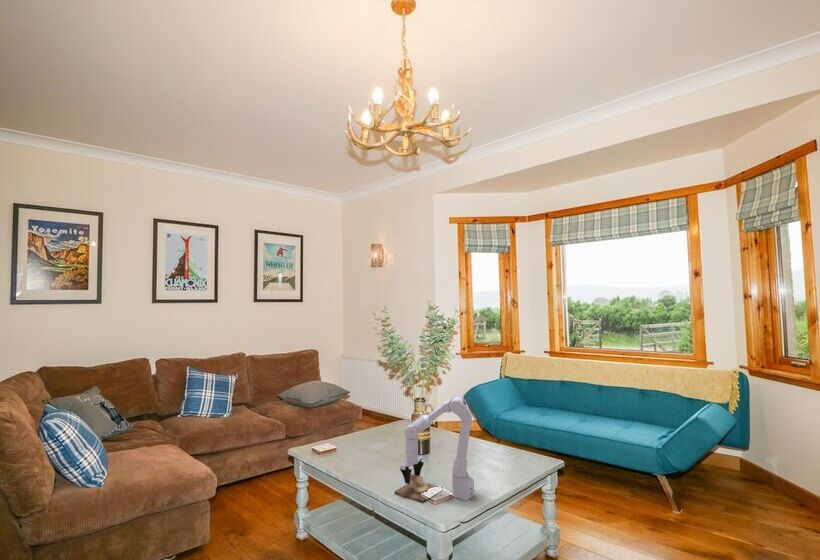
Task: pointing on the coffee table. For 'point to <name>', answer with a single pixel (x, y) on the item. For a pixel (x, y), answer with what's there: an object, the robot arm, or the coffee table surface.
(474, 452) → the coffee table surface
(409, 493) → the plate
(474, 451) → the coffee table surface
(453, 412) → the robot arm
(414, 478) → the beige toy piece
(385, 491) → the coffee table surface
